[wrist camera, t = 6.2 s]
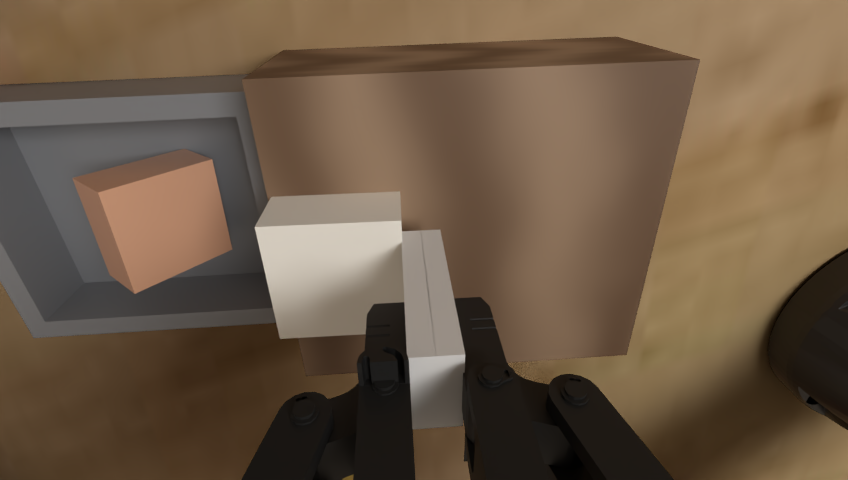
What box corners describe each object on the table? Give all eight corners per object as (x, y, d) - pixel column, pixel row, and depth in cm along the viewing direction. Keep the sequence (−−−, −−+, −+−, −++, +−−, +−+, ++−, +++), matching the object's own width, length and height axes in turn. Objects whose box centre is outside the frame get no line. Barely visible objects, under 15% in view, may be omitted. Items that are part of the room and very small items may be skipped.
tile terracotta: (98, 192, 19) (72, 177, 20) (134, 293, 21) (109, 275, 22) (212, 159, 22) (183, 148, 23) (232, 249, 25) (205, 235, 26)
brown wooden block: (617, 36, 22) (700, 59, 16) (578, 276, 29) (626, 354, 23) (283, 50, 22) (241, 79, 16) (324, 291, 29) (306, 375, 23)
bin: (276, 73, 22) (255, 91, 19) (313, 278, 28) (302, 321, 25) (-24, 85, 22) (-103, 106, 18) (78, 292, 28) (33, 338, 24)
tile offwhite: (400, 191, 18) (401, 220, 16) (405, 294, 21) (406, 331, 19) (271, 196, 18) (254, 227, 16) (291, 300, 20) (280, 338, 18)
